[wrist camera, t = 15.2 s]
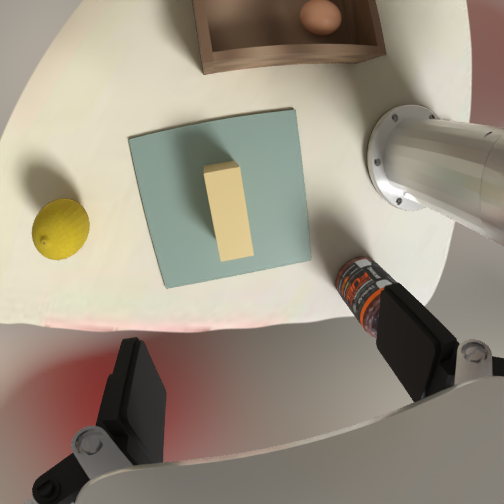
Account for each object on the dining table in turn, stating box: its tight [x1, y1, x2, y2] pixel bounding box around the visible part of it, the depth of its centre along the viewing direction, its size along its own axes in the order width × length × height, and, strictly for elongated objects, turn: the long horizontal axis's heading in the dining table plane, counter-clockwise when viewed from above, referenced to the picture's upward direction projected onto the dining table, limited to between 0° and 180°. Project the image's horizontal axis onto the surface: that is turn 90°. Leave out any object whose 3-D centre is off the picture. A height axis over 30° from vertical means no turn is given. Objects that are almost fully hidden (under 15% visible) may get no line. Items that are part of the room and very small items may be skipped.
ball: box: [300, 0, 342, 36], centre depth 23 cm, size 4×4×4 cm
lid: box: [129, 110, 311, 289], centre depth 30 cm, size 16×16×6 cm
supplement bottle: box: [336, 257, 397, 338], centre depth 33 cm, size 6×6×11 cm
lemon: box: [32, 198, 89, 260], centre depth 26 cm, size 6×6×8 cm
